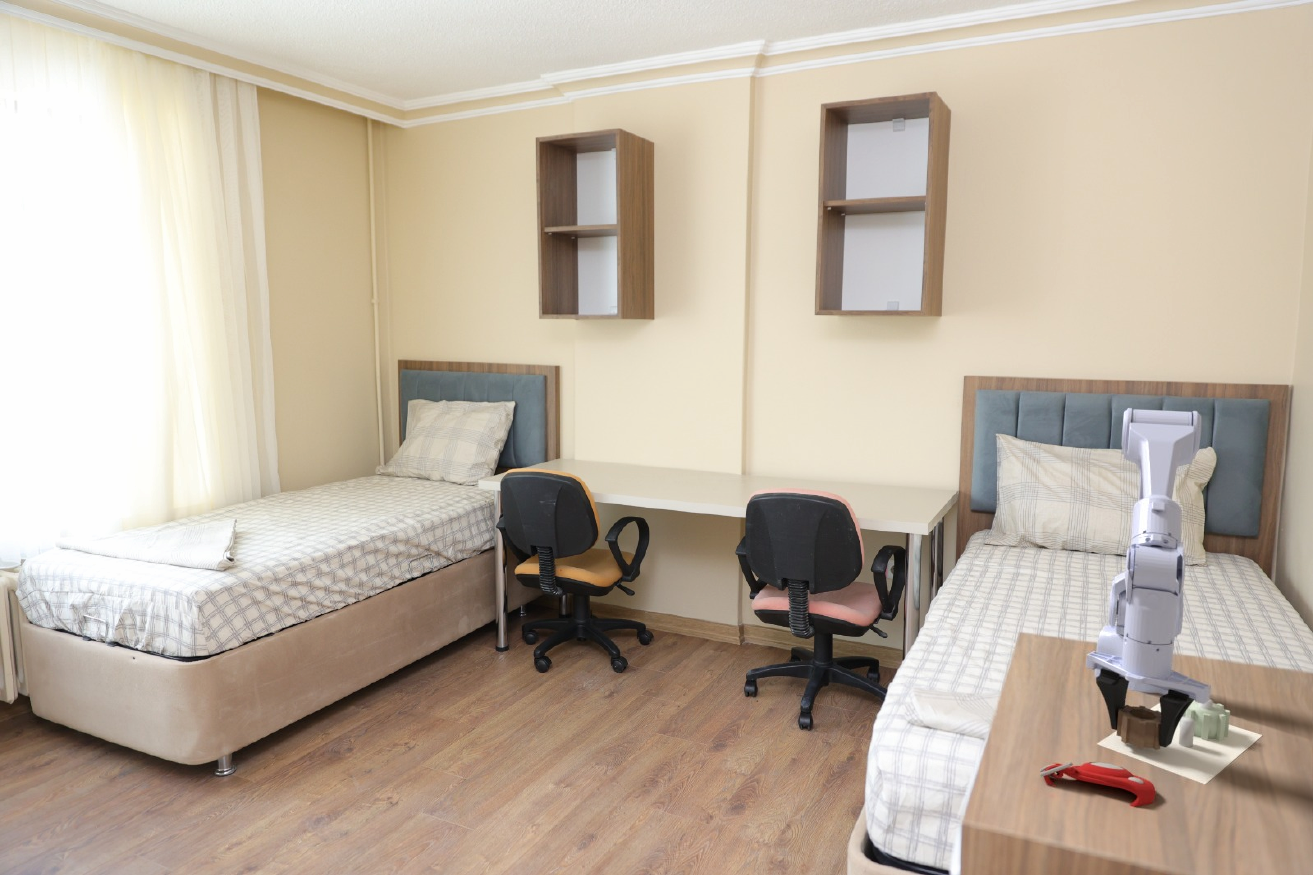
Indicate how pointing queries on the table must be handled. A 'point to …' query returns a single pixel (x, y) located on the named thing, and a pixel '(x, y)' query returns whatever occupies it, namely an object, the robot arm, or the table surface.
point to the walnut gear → (1139, 726)
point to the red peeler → (1104, 778)
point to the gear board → (1193, 743)
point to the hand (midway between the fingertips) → (1140, 735)
